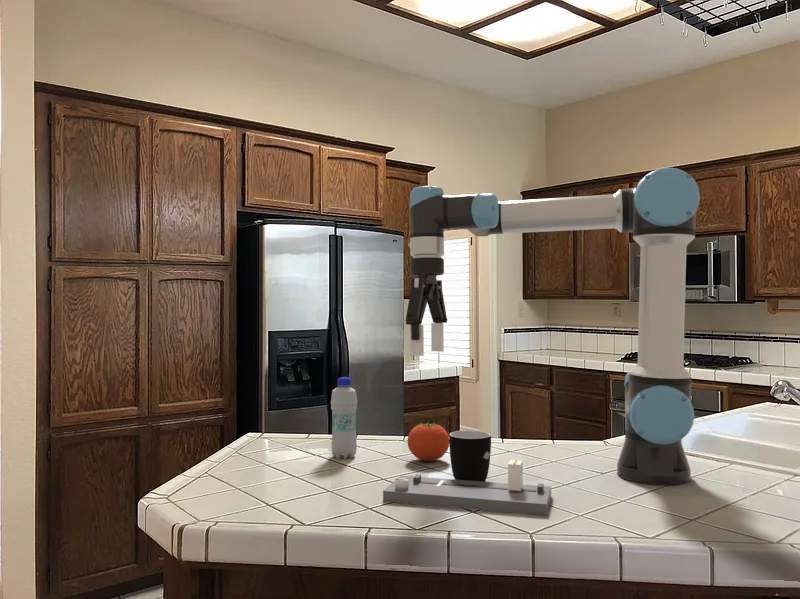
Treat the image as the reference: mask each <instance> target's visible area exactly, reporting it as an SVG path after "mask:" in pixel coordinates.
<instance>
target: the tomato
mask: <svg viewBox="0 0 800 599" xmlns="http://www.w3.org/2000/svg"><path fill="white" fill-rule="evenodd" d="M407 446H408V449H409V451H410V453H411V454H412V455H413V456H414V457H415V458H416V459H419V460H421V461H425V462H433V461H436V460H439V459H441V458H442V457H443V456H444V455H446V453H447V451H448V450H449V448H450V447H449V433H448V432H447V431H446V429H445V428H444V427H442V426H441V425H440V424H439V423H435V422H433V423H430V420H429V419H428V420H427V422H426V423H423V422H420V423H418V424H416V426H414V427H413V428H412V429H411V430H410V431H409V434H408V437H407Z"/></svg>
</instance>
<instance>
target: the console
mask: <svg viewBox="0 0 800 599" xmlns="http://www.w3.org/2000/svg"><path fill="white" fill-rule="evenodd" d="M551 499H552V486H547V485H545V484H544V483H538V484H537V485H532V484H523V487H522V489H521V491H514V490H508V482H507V483H506V482H504V483H503V482H493V481H485V482H481V481H467V480H455V479H454V478H440V477H439V478H437V477H425V476H424V477H423V476H422V474H415V475H414V476H413V475H412V476H411V475H400V476H398V477H397V478H395V479H394V481H393V482H392V483H391V484H389V485H388V486H387V487H386V488H384V489H383V490H382V501H383V502H389V503H397V504H398V503H399V504H409V505H410V504H411V505H412V504H413V505H420V506H422V505H423V506H435V507H445V508H459V509H468V510H469V509H470V510H481V511H482V510H483V511H493V512H505V513H516V514H526V515H528V514H529V515H539V516H547V515H548V512H549V506H550V502H551Z"/></svg>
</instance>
